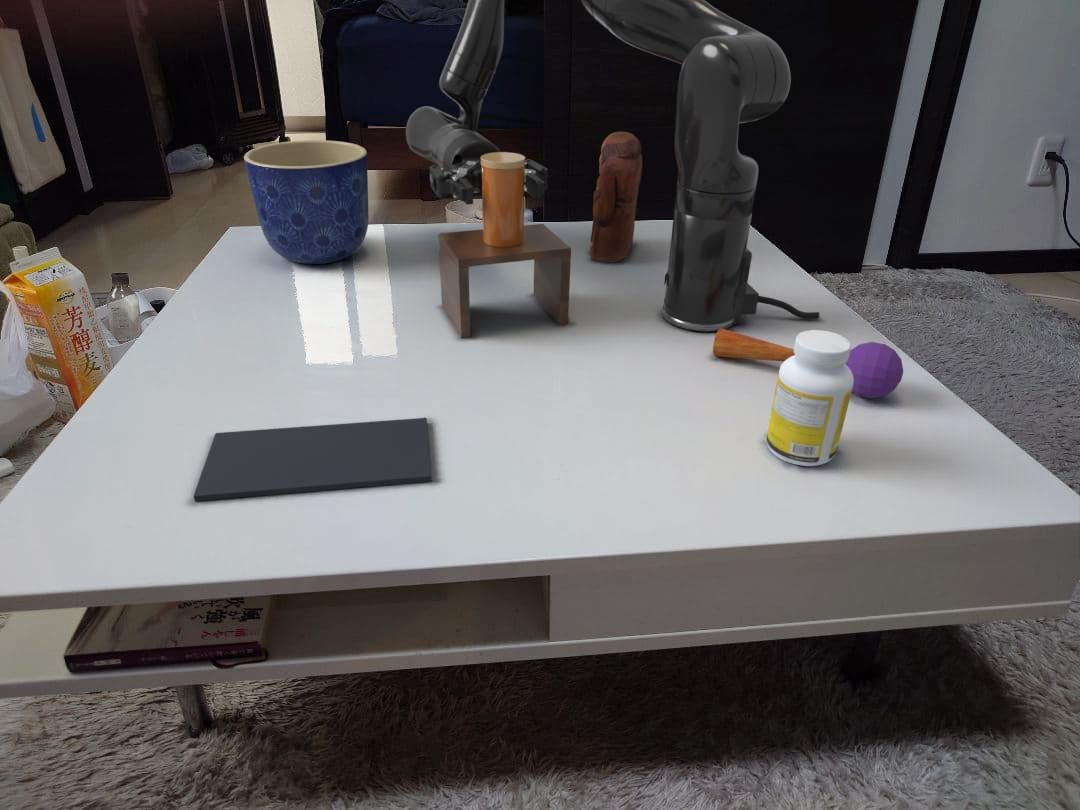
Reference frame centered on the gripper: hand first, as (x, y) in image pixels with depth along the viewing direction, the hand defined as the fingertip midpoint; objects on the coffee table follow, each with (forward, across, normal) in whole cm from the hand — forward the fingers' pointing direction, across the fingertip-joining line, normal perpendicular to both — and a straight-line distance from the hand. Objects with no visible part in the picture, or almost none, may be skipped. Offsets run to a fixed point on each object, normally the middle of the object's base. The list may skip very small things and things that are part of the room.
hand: (505, 193), depth 91 cm
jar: (-1, 0, +6) cm, 6 cm away
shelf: (-1, 0, +16) cm, 16 cm away
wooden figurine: (-19, +24, +16) cm, 34 cm away
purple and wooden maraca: (+25, +27, +16) cm, 40 cm away
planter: (-31, -20, +16) cm, 40 cm away
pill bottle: (+38, +18, +16) cm, 45 cm away
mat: (+25, -26, +16) cm, 39 cm away
